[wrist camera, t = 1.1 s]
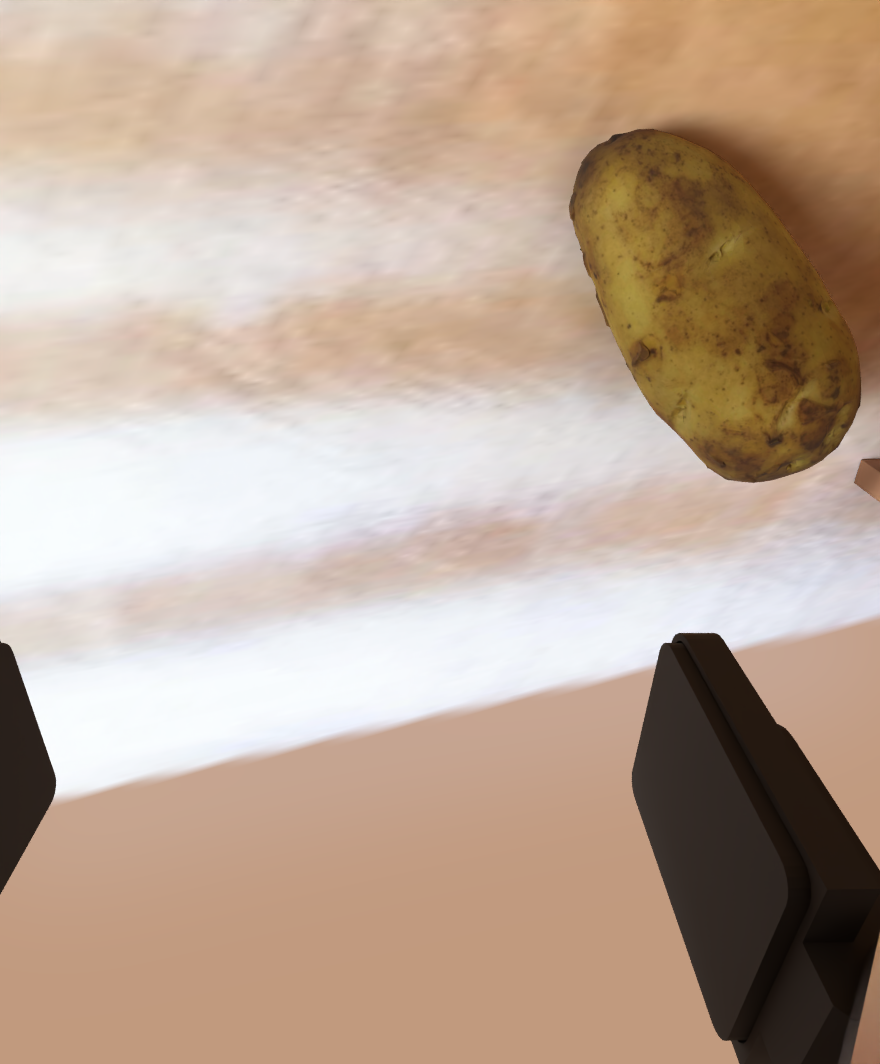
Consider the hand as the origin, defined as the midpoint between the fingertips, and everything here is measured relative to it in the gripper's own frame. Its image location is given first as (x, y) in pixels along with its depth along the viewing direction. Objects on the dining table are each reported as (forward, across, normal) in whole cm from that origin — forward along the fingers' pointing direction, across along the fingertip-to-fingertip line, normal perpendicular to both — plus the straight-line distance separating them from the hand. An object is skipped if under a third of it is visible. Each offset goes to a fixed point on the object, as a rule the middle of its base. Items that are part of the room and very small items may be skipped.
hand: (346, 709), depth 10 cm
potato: (+22, -12, -3) cm, 25 cm away
